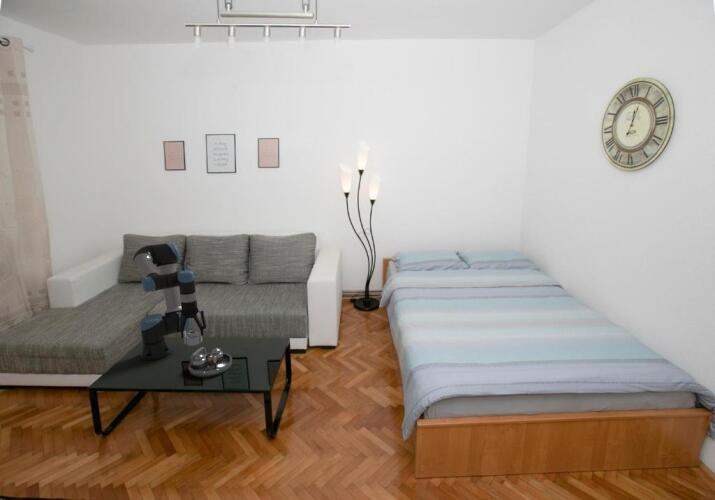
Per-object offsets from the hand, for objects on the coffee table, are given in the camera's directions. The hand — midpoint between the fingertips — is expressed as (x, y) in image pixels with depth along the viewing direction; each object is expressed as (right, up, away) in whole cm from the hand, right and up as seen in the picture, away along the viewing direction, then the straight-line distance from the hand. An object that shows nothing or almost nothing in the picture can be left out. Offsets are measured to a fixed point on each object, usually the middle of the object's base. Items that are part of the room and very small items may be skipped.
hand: (193, 342), depth 207 cm
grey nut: (0, 0, 0) cm, 0 cm away
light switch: (-2, -15, +14) cm, 21 cm away
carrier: (+5, -16, +10) cm, 20 cm away
